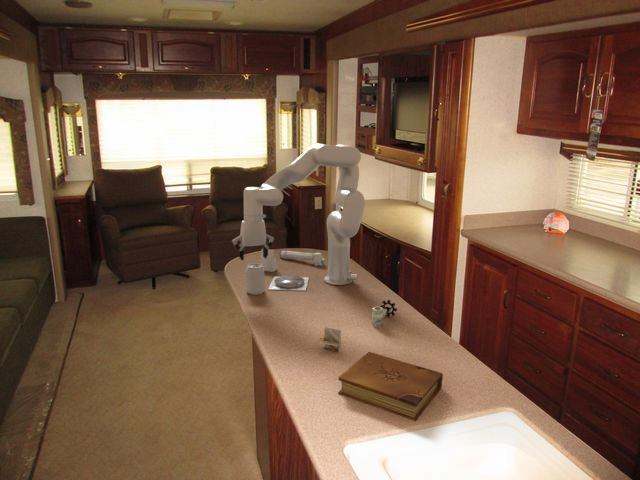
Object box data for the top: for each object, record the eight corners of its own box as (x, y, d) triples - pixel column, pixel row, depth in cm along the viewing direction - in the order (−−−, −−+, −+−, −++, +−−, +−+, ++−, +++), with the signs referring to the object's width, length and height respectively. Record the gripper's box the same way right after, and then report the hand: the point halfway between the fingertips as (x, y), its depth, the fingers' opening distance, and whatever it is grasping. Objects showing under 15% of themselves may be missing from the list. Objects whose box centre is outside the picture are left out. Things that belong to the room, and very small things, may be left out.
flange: (309, 278, 235) (309, 274, 235) (305, 290, 220) (305, 287, 219) (274, 277, 236) (274, 273, 236) (268, 289, 221) (268, 286, 221)
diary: (441, 390, 147) (443, 371, 146) (415, 423, 132) (416, 403, 130) (369, 366, 159) (370, 349, 158) (337, 395, 144) (338, 376, 142)
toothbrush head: (284, 249, 267) (325, 250, 253) (285, 261, 268) (327, 263, 255) (278, 251, 263) (319, 252, 249) (279, 264, 264) (321, 266, 250)
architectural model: (337, 355, 166) (337, 334, 164) (317, 352, 168) (317, 331, 166) (341, 351, 169) (341, 330, 167) (321, 347, 171) (321, 326, 169)
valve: (383, 329, 184) (396, 317, 194) (383, 312, 182) (397, 301, 192) (366, 325, 187) (380, 314, 197) (366, 308, 186) (381, 297, 195)
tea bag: (272, 272, 244) (272, 251, 241) (260, 270, 246) (259, 249, 244) (276, 269, 247) (276, 249, 244) (264, 267, 250) (263, 247, 247)
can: (268, 290, 220) (267, 263, 217) (258, 296, 213) (258, 269, 210) (253, 288, 223) (252, 261, 220) (243, 293, 216) (242, 266, 213)
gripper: (271, 214, 216) (271, 254, 220) (230, 217, 210) (230, 257, 214) (276, 218, 209) (276, 259, 214) (233, 221, 203) (234, 262, 208)
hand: (253, 258), depth 214 cm, fingers open, 9 cm apart
